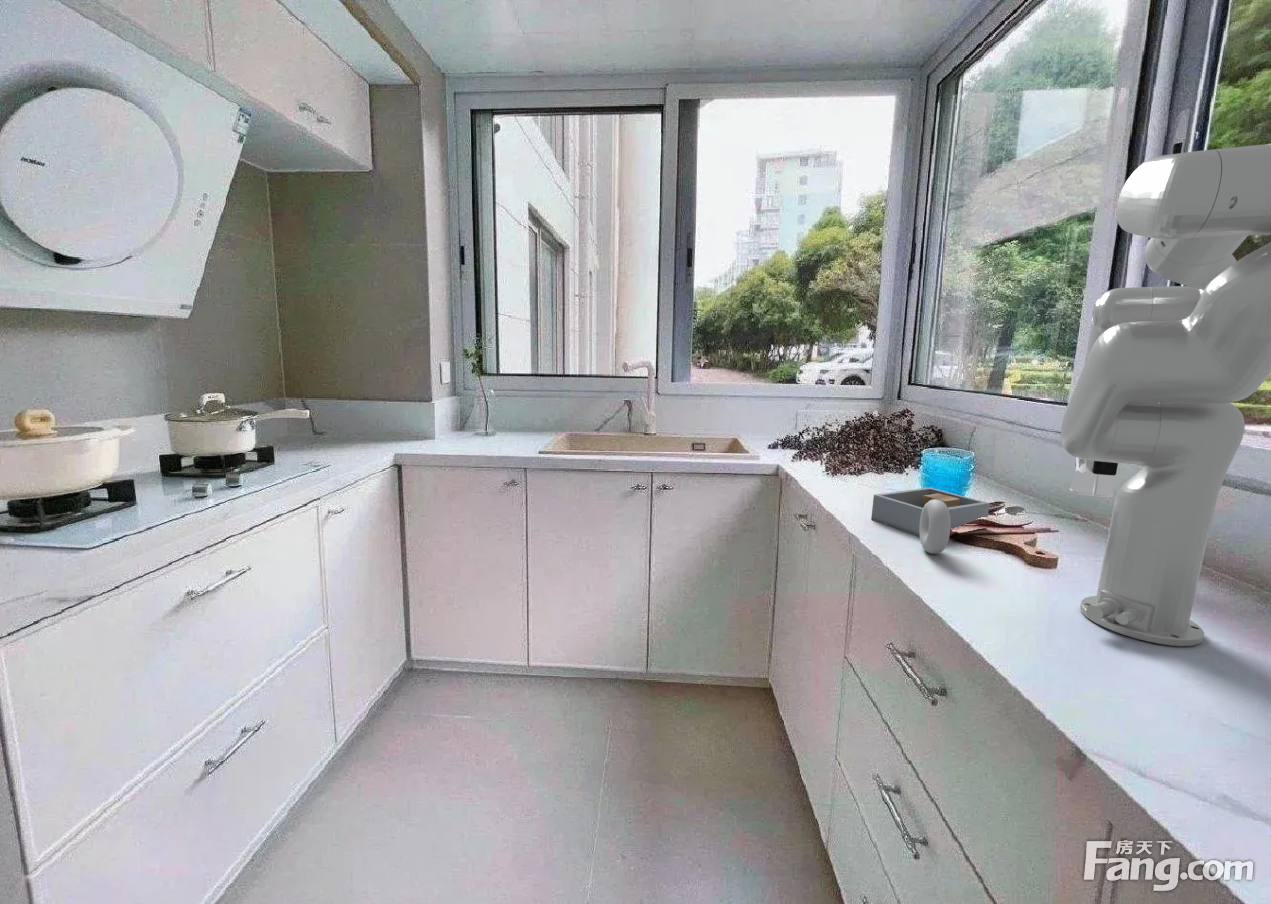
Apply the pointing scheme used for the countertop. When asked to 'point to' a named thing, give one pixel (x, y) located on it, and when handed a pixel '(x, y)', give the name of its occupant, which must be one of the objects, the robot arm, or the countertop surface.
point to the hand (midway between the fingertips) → (1094, 470)
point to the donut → (934, 526)
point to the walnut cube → (941, 499)
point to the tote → (907, 510)
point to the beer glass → (1091, 480)
